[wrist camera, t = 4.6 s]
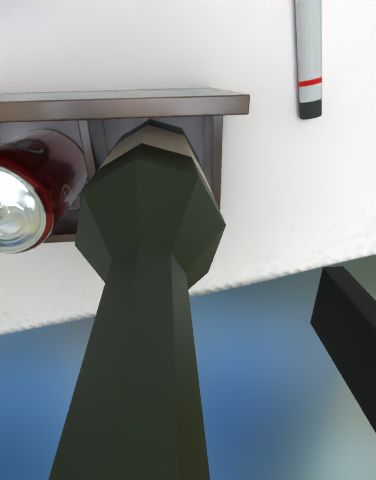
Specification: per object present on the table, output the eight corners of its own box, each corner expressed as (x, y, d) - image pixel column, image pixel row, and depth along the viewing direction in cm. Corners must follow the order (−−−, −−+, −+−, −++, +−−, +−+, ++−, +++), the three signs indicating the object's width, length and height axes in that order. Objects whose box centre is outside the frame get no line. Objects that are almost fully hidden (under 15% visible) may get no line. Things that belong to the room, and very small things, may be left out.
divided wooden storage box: (11, 219, 33) (-79, 303, 21) (-30, 94, 27) (-191, 106, 15) (210, 210, 34) (237, 283, 22) (212, 87, 28) (250, 94, 16)
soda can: (103, 178, 32) (73, 228, 21) (48, 211, 33) (-7, 273, 22) (56, 113, 28) (-7, 133, 18) (-3, 152, 30) (-95, 192, 19)
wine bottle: (165, 213, 34) (170, 685, 8) (100, 169, 31) (-262, 678, 5) (213, 154, 31) (486, 570, 5) (146, 99, 28) (-93, 378, 2)
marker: (316, 113, 30) (325, 115, 28) (296, 117, 30) (305, 120, 28) (313, -101, 23) (325, -115, 21) (287, -93, 23) (297, -108, 21)
